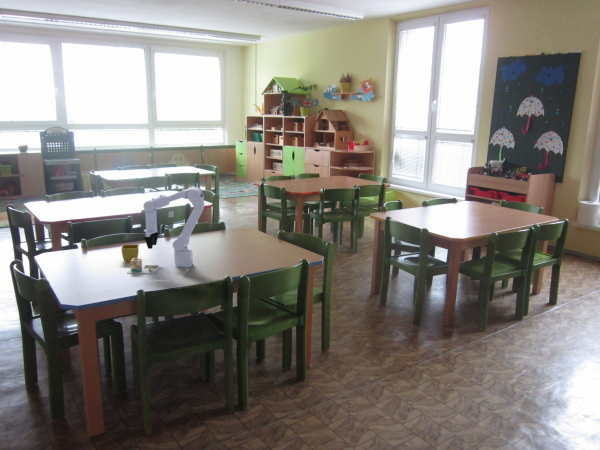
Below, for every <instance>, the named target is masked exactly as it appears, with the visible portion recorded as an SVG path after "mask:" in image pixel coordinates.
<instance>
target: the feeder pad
mask: <svg viewBox="0 0 600 450" xmlns="http://www.w3.org/2000/svg"><path fill="white" fill-rule="evenodd" d="M149 265H151V264H145V265H144V266H142V268H149ZM159 266H160V265H158V264H157V265H156V264H155V265H151V269H158V267H159Z"/></svg>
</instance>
